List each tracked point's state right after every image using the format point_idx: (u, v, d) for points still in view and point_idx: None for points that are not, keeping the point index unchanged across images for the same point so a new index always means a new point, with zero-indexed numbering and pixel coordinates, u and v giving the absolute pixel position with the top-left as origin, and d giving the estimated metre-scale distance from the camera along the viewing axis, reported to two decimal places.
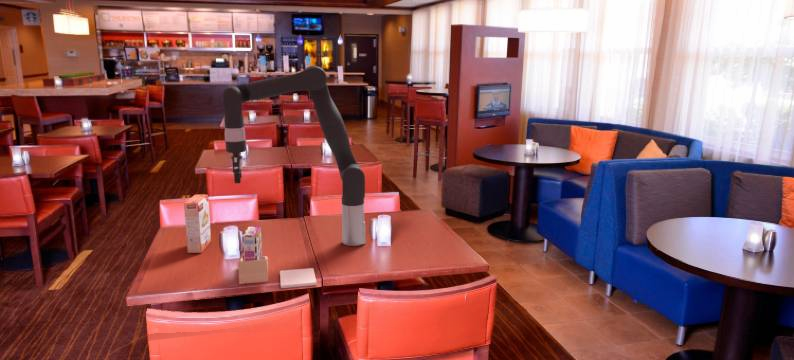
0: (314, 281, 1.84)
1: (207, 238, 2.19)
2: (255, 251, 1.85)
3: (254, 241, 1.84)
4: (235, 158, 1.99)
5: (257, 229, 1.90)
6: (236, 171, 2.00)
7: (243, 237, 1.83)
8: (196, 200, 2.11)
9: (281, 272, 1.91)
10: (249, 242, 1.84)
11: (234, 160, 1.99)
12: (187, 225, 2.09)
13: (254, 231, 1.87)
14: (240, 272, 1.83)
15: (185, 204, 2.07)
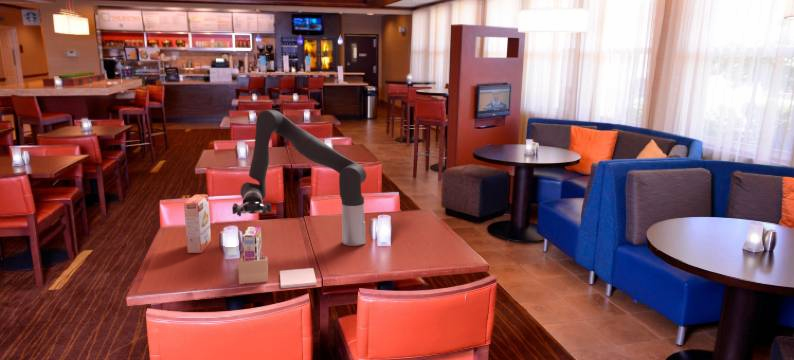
0: (314, 281, 1.84)
1: (207, 238, 2.19)
2: (255, 251, 1.85)
3: (254, 241, 1.84)
4: None
5: (257, 229, 1.90)
6: (232, 210, 2.01)
7: (243, 237, 1.83)
8: (196, 200, 2.11)
9: (281, 272, 1.91)
10: (249, 242, 1.84)
11: None
12: (187, 225, 2.09)
13: (254, 231, 1.87)
14: (240, 272, 1.83)
15: (185, 204, 2.07)
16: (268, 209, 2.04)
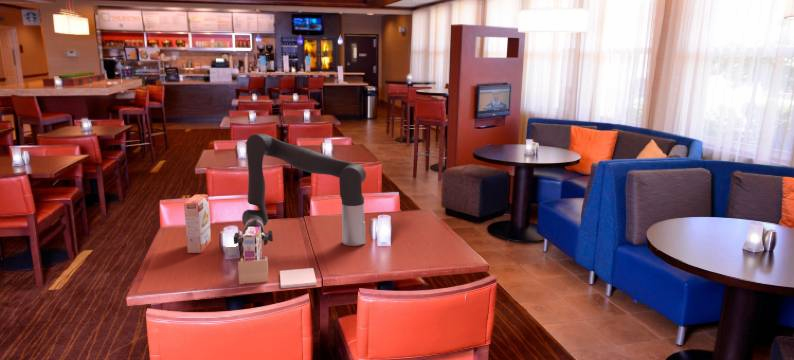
0: (314, 281, 1.84)
1: (207, 238, 2.19)
2: (255, 251, 1.85)
3: (254, 241, 1.84)
4: None
5: (257, 229, 1.90)
6: (234, 240, 2.00)
7: (243, 237, 1.83)
8: (196, 200, 2.11)
9: (281, 272, 1.91)
10: (249, 242, 1.84)
11: None
12: (187, 225, 2.09)
13: (254, 231, 1.87)
14: (240, 272, 1.83)
15: (185, 204, 2.07)
16: (269, 238, 2.03)
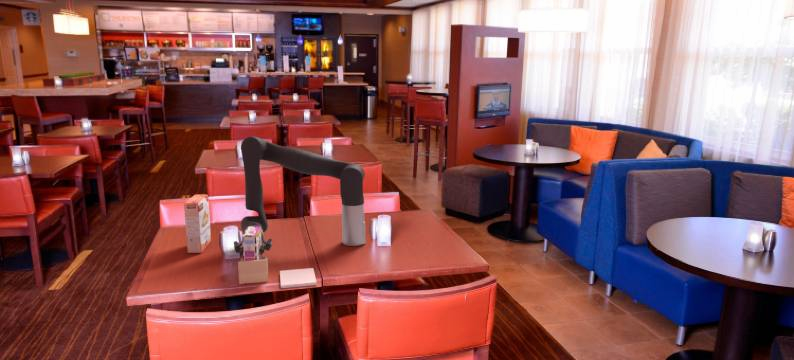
0: (314, 281, 1.84)
1: (207, 238, 2.19)
2: (255, 251, 1.85)
3: (254, 241, 1.84)
4: None
5: (257, 229, 1.90)
6: (236, 249, 1.91)
7: (243, 237, 1.83)
8: (196, 200, 2.11)
9: (281, 272, 1.91)
10: (249, 242, 1.84)
11: (234, 246, 1.95)
12: (187, 225, 2.09)
13: (254, 231, 1.87)
14: (240, 272, 1.83)
15: (185, 204, 2.07)
16: (266, 248, 1.93)
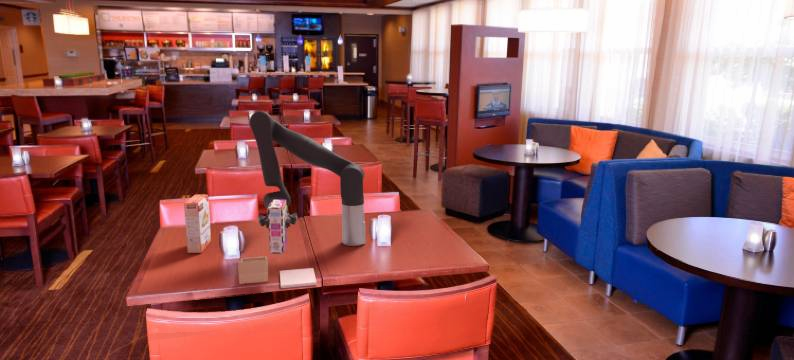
0: (314, 281, 1.84)
1: (207, 238, 2.19)
2: (281, 224, 1.80)
3: (280, 213, 1.79)
4: None
5: (283, 202, 1.85)
6: (261, 222, 1.86)
7: (269, 209, 1.78)
8: (196, 200, 2.11)
9: (281, 272, 1.91)
10: (276, 214, 1.79)
11: None
12: (187, 225, 2.09)
13: (280, 204, 1.83)
14: (240, 272, 1.83)
15: (185, 204, 2.07)
16: (292, 221, 1.88)
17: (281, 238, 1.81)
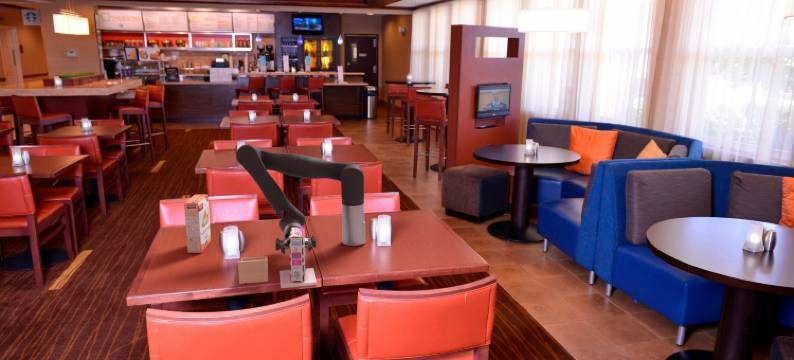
0: (314, 281, 1.84)
1: (207, 238, 2.19)
2: (302, 252, 1.81)
3: (301, 242, 1.80)
4: None
5: (302, 230, 1.86)
6: None
7: (290, 238, 1.79)
8: (196, 200, 2.11)
9: (281, 272, 1.91)
10: (297, 244, 1.80)
11: None
12: (187, 225, 2.09)
13: (300, 233, 1.83)
14: (240, 272, 1.83)
15: (185, 204, 2.07)
16: (313, 245, 1.89)
17: (302, 267, 1.82)
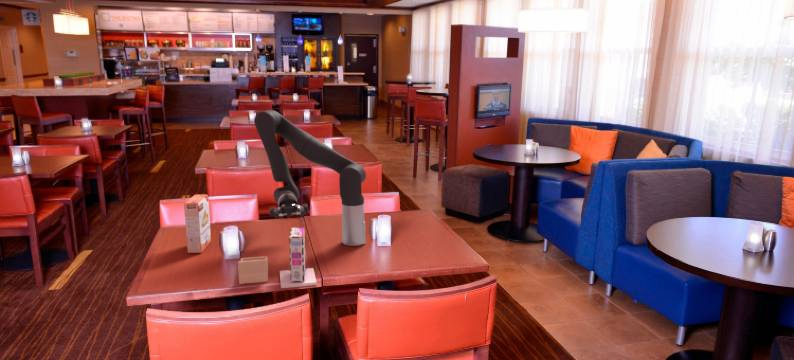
0: (314, 281, 1.84)
1: (207, 238, 2.19)
2: (302, 252, 1.81)
3: (301, 242, 1.80)
4: None
5: (302, 230, 1.86)
6: (270, 213, 1.98)
7: (290, 238, 1.79)
8: (196, 200, 2.11)
9: (281, 272, 1.91)
10: (297, 244, 1.80)
11: None
12: (187, 225, 2.09)
13: (300, 233, 1.83)
14: (240, 272, 1.83)
15: (185, 204, 2.07)
16: (305, 211, 2.01)
17: (302, 267, 1.82)
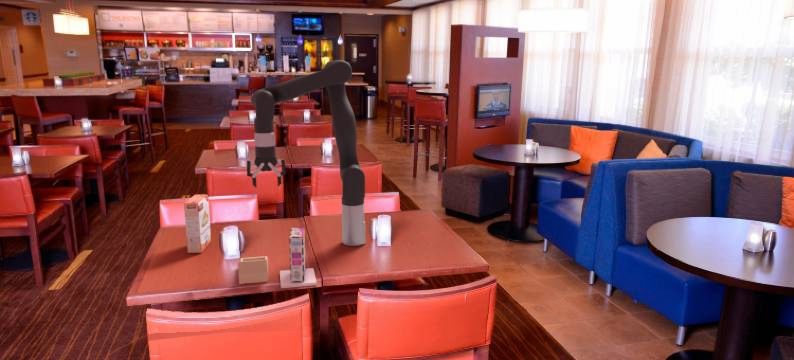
0: (314, 281, 1.84)
1: (207, 238, 2.19)
2: (302, 252, 1.81)
3: (301, 242, 1.80)
4: None
5: (302, 230, 1.86)
6: None
7: (290, 238, 1.79)
8: (196, 200, 2.11)
9: (281, 272, 1.91)
10: (297, 244, 1.80)
11: (284, 161, 2.02)
12: (187, 225, 2.09)
13: (300, 233, 1.83)
14: (240, 272, 1.83)
15: (185, 204, 2.07)
16: None
17: (302, 267, 1.82)
